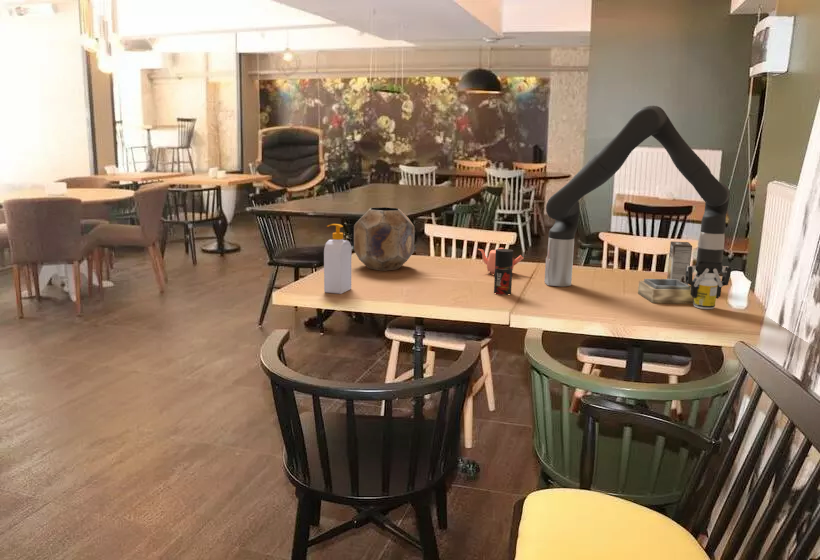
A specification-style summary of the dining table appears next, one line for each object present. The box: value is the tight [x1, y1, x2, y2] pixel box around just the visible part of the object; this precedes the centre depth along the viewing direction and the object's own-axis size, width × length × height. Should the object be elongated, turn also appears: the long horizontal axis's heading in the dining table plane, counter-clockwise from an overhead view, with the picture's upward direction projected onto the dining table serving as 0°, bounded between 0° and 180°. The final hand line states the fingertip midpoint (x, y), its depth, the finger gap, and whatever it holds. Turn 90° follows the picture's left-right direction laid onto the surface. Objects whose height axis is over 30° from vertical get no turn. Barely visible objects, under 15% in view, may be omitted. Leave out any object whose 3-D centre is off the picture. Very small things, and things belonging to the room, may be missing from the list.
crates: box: [637, 278, 694, 305], centre depth 231 cm, size 14×14×6 cm
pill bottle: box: [693, 273, 718, 310], centre depth 219 cm, size 6×6×12 cm
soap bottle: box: [323, 223, 352, 295], centre depth 231 cm, size 9×7×23 cm
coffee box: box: [666, 241, 693, 285], centre depth 250 cm, size 9×6×16 cm
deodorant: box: [493, 248, 514, 296], centre depth 233 cm, size 6×6×15 cm
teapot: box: [477, 247, 524, 275], centre depth 268 cm, size 14×12×10 cm
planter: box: [353, 206, 416, 272], centre depth 273 cm, size 22×24×24 cm
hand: (705, 297), depth 219 cm, fingers closed on pill bottle, 6 cm apart
